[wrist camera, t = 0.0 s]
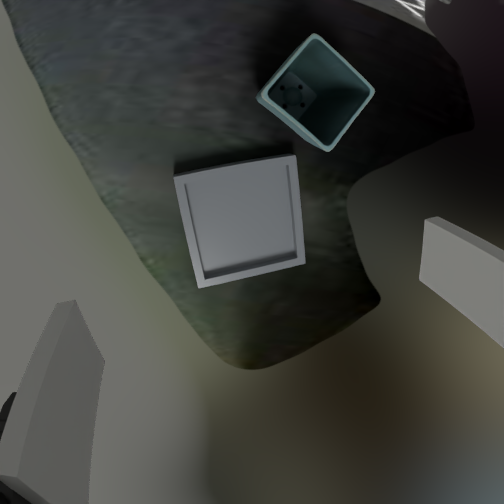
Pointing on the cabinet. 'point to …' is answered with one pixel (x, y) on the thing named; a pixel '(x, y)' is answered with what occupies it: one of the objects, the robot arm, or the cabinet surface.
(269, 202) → the plant tray
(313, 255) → the cabinet surface
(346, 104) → the flower pot
